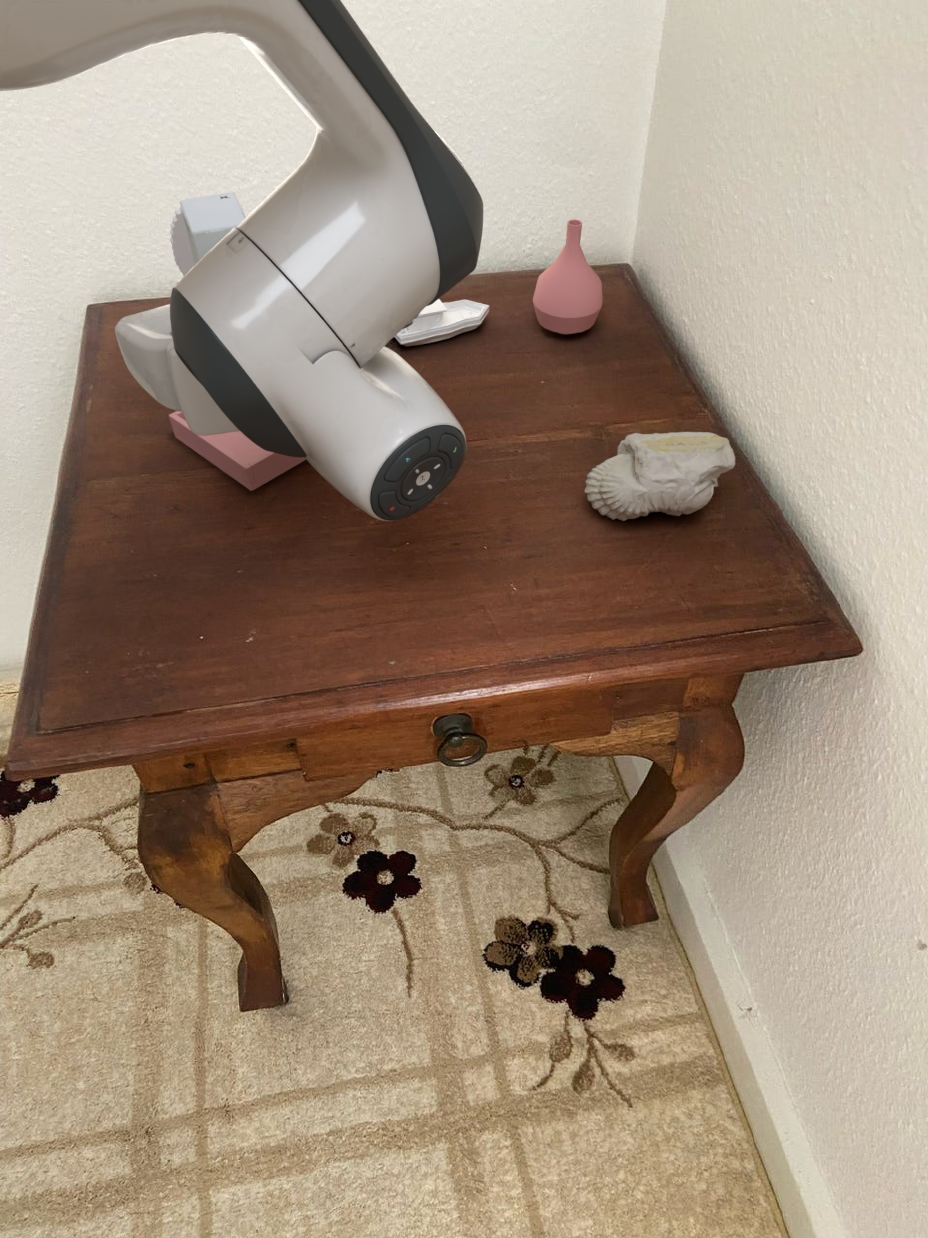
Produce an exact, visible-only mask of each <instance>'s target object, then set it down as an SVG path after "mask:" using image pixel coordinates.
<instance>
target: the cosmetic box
mask: <svg viewBox="0 0 928 1238" xmlns="http://www.w3.org/2000/svg"><path fill="white" fill-rule="evenodd" d="M179 204H180V207H181V209H182V213H183V217H184V221H185V226H186V230H187V234H188V238H189V242H190V246H191V250H192V254H193V258H194V262H195V265H196V264H197V263H198V262H199V261H200V260H201V259H202V258H203V257H204V256H205V255H206V254H207V253H208V252H209V251H210V250H211V249H212V248H213V247H214V246H215V245H216V244H217V243H218V242H219V241H220V240H222V239H223V238H224V237H225V236H226V235H227V234H228V233H229V232H230V231H231V230H232V229H233V228H236V227H237V226H238V225H239V224H240V223H241V222H242V221H243V220H244V219H245V218H246V217H247V216H246V215H245V213H244V209H243V207H242V205H241V204H240V201H239V200H238V197H237V196H236V194H235V193H234V192H227V193H220V194H214V195H213V194H212V195H205V196H201V197H200V196H199V197H192V198H186V199H181V200H180V201H179Z"/></svg>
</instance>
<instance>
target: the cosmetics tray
mask: <svg viewBox="0 0 928 1238" xmlns="http://www.w3.org/2000/svg"><path fill="white" fill-rule="evenodd" d="M168 418H169V422H170V425H171V429H172V431H173V434H174V437H175V438H176V440H178V441H179V442H182V443H183V444H184V445H186V446H187V447H188V448H190V449H191V450H193V452H195V453H197V455H199V456H201V457H202V458H204V460H207V461H208V462H209V463H211V464H212V465H213V466H215V467H216V468H218V469H219V470H221V471H222V472H224V473H225V475H226V474H227V475H228V476H229V477H231V478H232V479H233V480H234V481H236V482H238V483H239V484H240V485H242V486H243V487H245V488H246V489H247V490H249V491H251V492H253V491H255V490H257V489H259V488H260V487H262V486H264V484H267V483H268V482H270V481H272V480H273V479H276V478H277V477H279V476H281V475H282V474H284V473H286V472H287V471H289V470H290V469H292V468H294V467H296V466H298V465H299V464H301V463H303V462H305V461H307V460H306V459H305V457H291V456H286V455H282V454H278V453H274V452H270V451H266V450H264V449H262V448H261V447H259V446H258V445H256V444H255V443H253V442H252V441H251V440H250V439H249V438H247V437H246V436H245V435H244V434H243V433H242V432H241V431H236V432H228V433H221V434H215V435H207V436H201V435H197V434H195V433H193V432H192V431H191V429H190V428H189V426H188V424H187V422H186V419H185V417H184V415H183V413H182V412H180V411H174V412H171V413H169V414H168Z"/></svg>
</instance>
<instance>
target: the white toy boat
mask: <svg viewBox="0 0 928 1238" xmlns="http://www.w3.org/2000/svg"><path fill="white" fill-rule="evenodd" d="M489 312H490V305H489V304H484V303H481V302H476V301H473V300H469V299H460V300H455V301H449V302H442V300H441V299H440V298H439V299H438V300H437V301H435V302H434V303H433V304H431V305H429V306H426V307H425V308H424V309H423V310H422V311H421V312H420V314H419V315H418V316H417V317H416V318H415V319H413V323H412V325H410V326H409V327H407V328H404V329H402V330H401V331H400V332H399V333H398V334H396V335H395V336H394V337H393V338H395V339H396V341H397V342H398V343H399V345H401V346H404V347H412V346H420V345H424V344H431V343H436V342H439V341H444V340H447V339H450V338H453V337H455V336H458V335H461V334H463V333H467V332H470V331H473V330H475V329H477V328H478V327H479V326H480V325H482V323H483V321H484V320H485V318H486V317H487V315H488V314H489Z"/></svg>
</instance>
